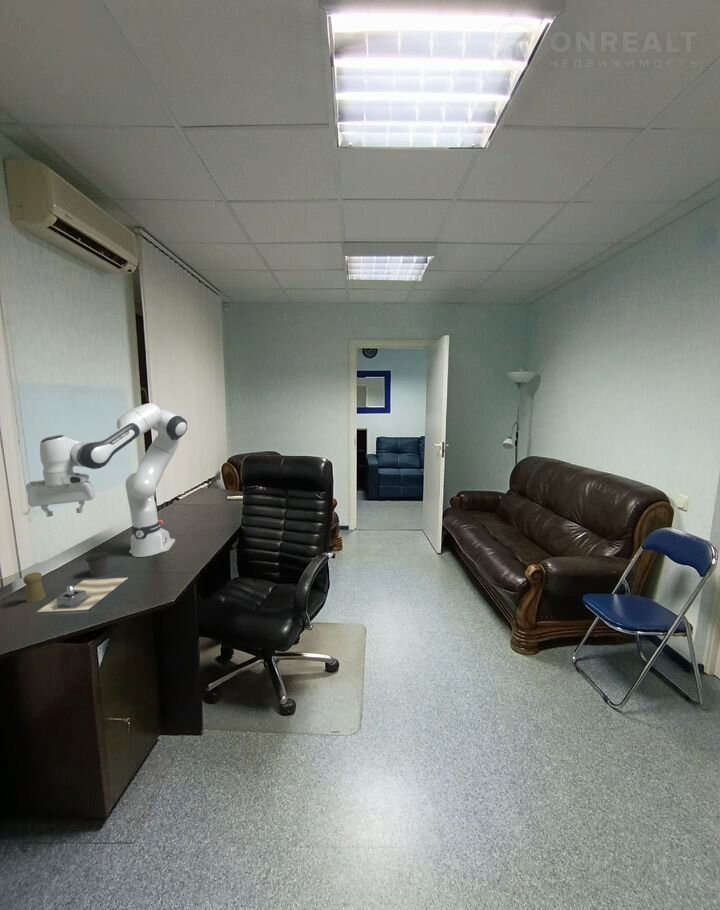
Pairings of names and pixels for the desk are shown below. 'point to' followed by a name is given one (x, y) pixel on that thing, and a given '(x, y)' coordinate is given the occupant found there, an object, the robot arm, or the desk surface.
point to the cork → (34, 587)
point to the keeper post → (71, 593)
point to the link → (71, 598)
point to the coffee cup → (97, 564)
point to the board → (87, 594)
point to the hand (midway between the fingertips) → (65, 514)
